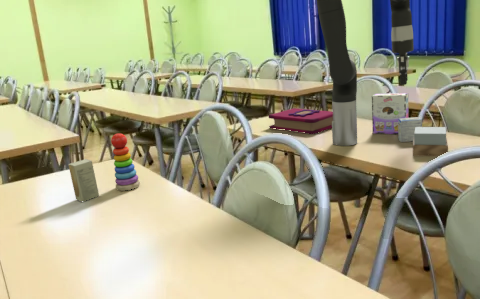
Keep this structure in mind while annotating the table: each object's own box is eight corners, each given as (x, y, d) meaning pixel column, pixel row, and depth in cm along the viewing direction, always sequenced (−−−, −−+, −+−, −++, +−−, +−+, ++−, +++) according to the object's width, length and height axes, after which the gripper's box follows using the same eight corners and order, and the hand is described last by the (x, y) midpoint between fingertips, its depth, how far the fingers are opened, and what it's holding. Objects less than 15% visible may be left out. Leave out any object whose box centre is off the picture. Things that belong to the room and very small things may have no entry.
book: (296, 120, 232) (295, 106, 230) (341, 125, 211) (340, 110, 209) (268, 129, 218) (267, 114, 216) (313, 135, 198) (312, 118, 196)
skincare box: (93, 193, 147) (86, 158, 144) (99, 196, 144) (93, 160, 141) (74, 200, 142) (67, 163, 139) (80, 203, 139) (73, 165, 136)
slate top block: (414, 144, 155) (414, 133, 154) (415, 137, 164) (415, 127, 163) (445, 145, 151) (446, 133, 150) (445, 137, 160) (445, 127, 159)
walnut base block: (412, 156, 156) (413, 145, 155) (413, 147, 165) (413, 137, 164) (447, 157, 152) (448, 145, 151) (446, 148, 161) (446, 137, 160)
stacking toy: (129, 182, 155) (120, 129, 150) (145, 185, 151) (136, 131, 146) (111, 189, 149) (101, 135, 144) (127, 193, 145) (117, 137, 140)
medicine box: (418, 138, 176) (418, 116, 174) (421, 141, 172) (422, 119, 170) (397, 139, 177) (398, 118, 175) (400, 142, 173) (400, 120, 171)
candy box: (408, 131, 188) (409, 92, 183) (405, 135, 183) (405, 95, 179) (375, 130, 195) (375, 92, 191) (371, 133, 190) (371, 95, 186)
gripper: (392, 39, 172) (394, 81, 176) (390, 41, 159) (392, 86, 163) (413, 36, 169) (415, 79, 173) (412, 38, 157) (414, 84, 160)
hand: (404, 82), depth 168 cm, fingers open, 8 cm apart
